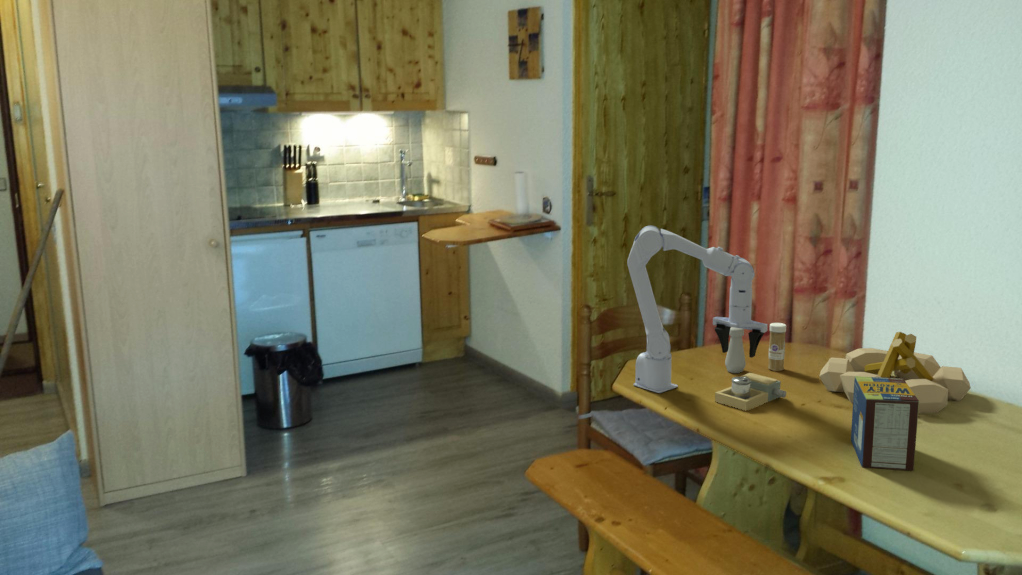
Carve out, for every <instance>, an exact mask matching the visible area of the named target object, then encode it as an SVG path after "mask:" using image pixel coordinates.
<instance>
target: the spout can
mask: <svg viewBox="0 0 1022 575" xmlns="http://www.w3.org/2000/svg"><path fill="white" fill-rule="evenodd" d="M750 383H751V380H750V379H749V378H748V377H740V376H733V377H731V387H732V389H731V396H734V397H738V398H741V399H744V400H746V399H749V398H750Z"/></svg>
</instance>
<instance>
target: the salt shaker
mask: <svg viewBox="0 0 1022 575" xmlns="http://www.w3.org/2000/svg"><path fill="white" fill-rule="evenodd" d="M744 334H745V329H741V328H735V327H731V328H730V333H729V338H730V339H729V348H728V352H726V356H725V361H724V364H725V368H726V370H727V372H729V373H731V374H741V373H743V372H744V369H745V368H746V365H747V363H746V356H745V350H744V343H743V337H744ZM740 372H741V373H740Z"/></svg>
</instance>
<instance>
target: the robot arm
mask: <svg viewBox="0 0 1022 575" xmlns="http://www.w3.org/2000/svg"><path fill="white" fill-rule="evenodd" d="M661 249H662V251H664V252H666V251H670V250H676V251H678V252H681V253H683V254H685V255H689V256H691V257H694V258H696V259H698V260H701V263H702V264H703V267H705V268H707V269H709V270H711V271H713V272H715V273H718V274H721V275H722V276H725V277H731V278H730V287H729V300H728V301H729V304H728V306H729V307H728V317H725V316H724V317H723V316H715V317H712V325H713V326H716V327H714V332H715V334H716V336H717V337H718V340H719V342H720V347H721V351H722V353H724V354H727V352H728V348H729V343H730V339H729V338H730V335H729V333H730V328H731V327H735V328H741V329H744V330H749V332H748V335H747V336H748V340H749V350H748V351H749V354H748V355H749V356H748V357H749V358H754V357H756V353H757V349H758V347H759V343H760V341H761V340H762V338H763V337H764V334H765V333H767V332H768V325H769V324H768V323H763V322H759V321H755V320H752V304H753V288H752V286H753V280H754V278H755V274H756V272H755V271H754V268H753V266H752V264H751V263H750V262H749V261H748V260H747V259H745V258H744V257H740V256H739V255H737V254H736V255H733V254H731V253H729V252H726V251H724V248H723V247H722V246H717V247H715V246H712V247H709V248H706V247H704V246H702V245H699V244H697V243H696V242H693V241H691V240H689V239H687V238H685V237H683V236H681V235H679V234H676V233H674V232H672V231H670V230H666V229H663V228H659V227H657V226H655V225H647V226H644V227H643V228H641V229H640V230H639V232H638V233H637V234H636V235H635V237H634V240H633V244H632V246H631V248H630V252H629V254H628V257H627V265H626V266H627V267H628V272H629V276H630V279H631V282H632V286H633V289H634V292H635V297H636V301H637V303H638V304H637V305H638V307H639V311H640V314H641V319H642V321H643V325H644V331H645V334H646V351H645V352H641V353H640V354H638V356H637V358H636V361H635V373H634V374H635V382H634V383H632V384H633V386H634V387H638V388H640V389H644V390H647V391H651V392H653V393H658V394H661V393H664V392H667V391H670V390H673V389H675V388H677V387H678V386H679V385H678V384H676V383H672V353H671V348H672V347H671V346H672V345H671V343H670V334H669V333H668V332H667V330H666V329H665V328H664V325H663V322H662V320H661V317H660V313H659V309H658V306H657V302H656V299H655V295H654V292H653V288H652V284H651V281H650V278H649V277H650V276H649V274H648V271H647V266H646V265H647V264H648V262H649V261H650V260H651V258H652V257H653V256H655V255H656V254H657V253H658V252H659V251H660V250H661Z"/></svg>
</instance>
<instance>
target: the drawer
mask: <svg viewBox="0 0 1022 575" xmlns="http://www.w3.org/2000/svg"><path fill="white" fill-rule="evenodd" d="M739 377H748V378H749V379H750V380H751V383H750V398H749V399H746V400H744V399H741V398H738V397H734V396H731V389H732V386H729V387H726V388H724V389H722V390H718V391H716V392H714V402H715V401H716V402H715V403H717V402H718V403H717V404H721V405H724V404H725V406H727V405H729V406H728V407H731V406H733V407H732V408H734V407H735V408H734V409H737V408H738V410H741V409H742V410H741V411H744V410H745V411H744V412H747V411H746V410H748V411H750V410H752V409H755V408H757V407H760V406H762V405H764V403H765V404H766V402H767V403H769V402H772V401H774V400H776V398H777V399H779V398H783V399H785V398H786V396H787V391H786V390H784V389H781V380H778V379H776V378H773V377H768V376H765V375H762V374H761V375H760V374H756V373H753V372H747V373H746V374H743V375H740V376H739ZM773 399H774V400H773ZM771 400H772V401H771ZM768 401H769V402H768ZM759 405H760V406H759ZM756 406H757V407H756ZM754 407H755V408H754ZM751 408H752V409H751ZM749 409H750V410H749Z"/></svg>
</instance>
